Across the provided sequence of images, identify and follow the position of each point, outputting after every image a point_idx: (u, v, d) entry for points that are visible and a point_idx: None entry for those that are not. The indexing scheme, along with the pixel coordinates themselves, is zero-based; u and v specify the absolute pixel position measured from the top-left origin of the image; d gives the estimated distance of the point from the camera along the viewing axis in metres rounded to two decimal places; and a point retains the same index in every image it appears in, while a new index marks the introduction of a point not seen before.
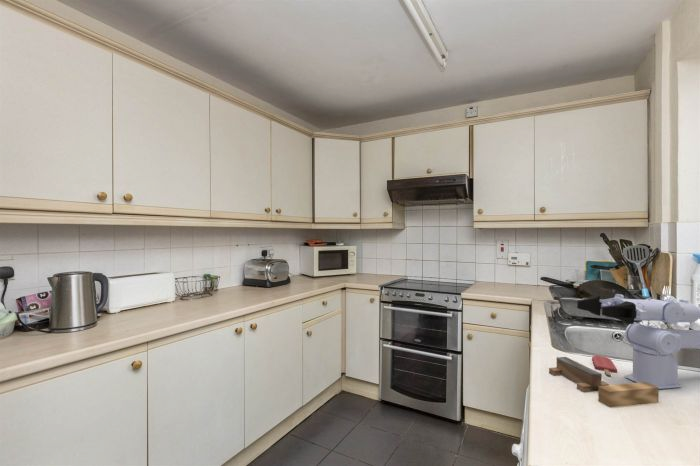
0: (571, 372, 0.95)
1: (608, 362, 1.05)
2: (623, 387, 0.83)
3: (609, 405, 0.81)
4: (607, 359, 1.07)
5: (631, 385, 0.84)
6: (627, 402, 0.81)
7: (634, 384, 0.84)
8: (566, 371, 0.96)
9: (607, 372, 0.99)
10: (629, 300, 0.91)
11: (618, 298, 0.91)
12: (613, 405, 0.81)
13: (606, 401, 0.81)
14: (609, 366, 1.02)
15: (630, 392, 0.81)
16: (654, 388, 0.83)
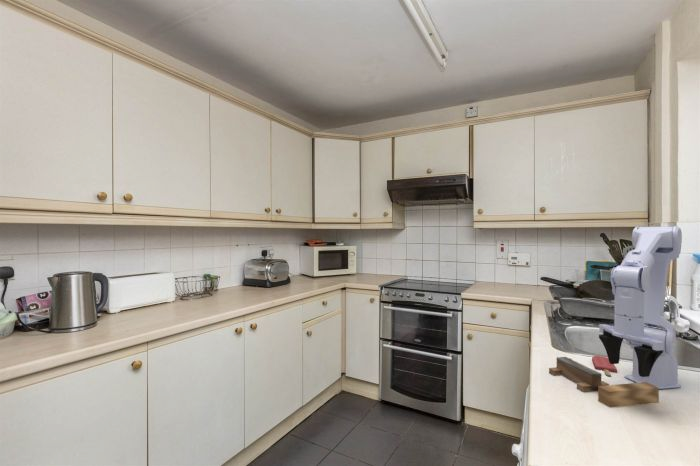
0: (571, 372, 0.95)
1: (608, 362, 1.05)
2: (622, 387, 0.83)
3: (609, 405, 0.81)
4: (607, 359, 1.07)
5: (631, 385, 0.84)
6: (627, 402, 0.81)
7: (634, 384, 0.84)
8: (566, 371, 0.96)
9: (607, 372, 0.99)
10: (623, 326, 0.81)
11: None
12: (613, 405, 0.81)
13: (606, 401, 0.81)
14: (609, 366, 1.02)
15: (630, 393, 0.81)
16: (654, 388, 0.83)
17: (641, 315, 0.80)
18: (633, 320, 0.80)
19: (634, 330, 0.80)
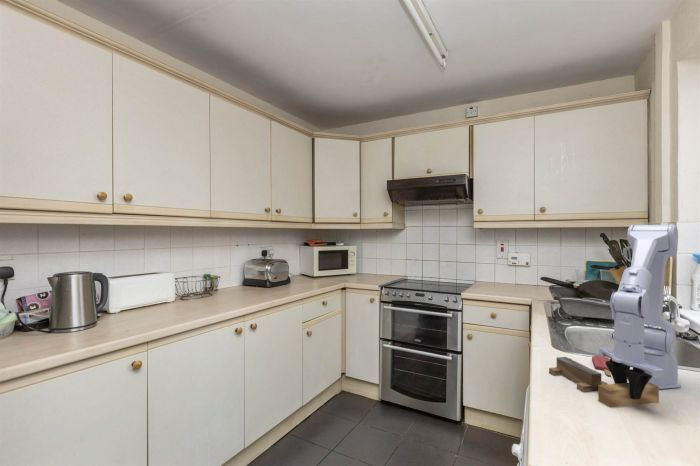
0: (571, 372, 0.95)
1: None
2: (623, 386, 0.83)
3: (609, 404, 0.81)
4: (607, 359, 1.07)
5: None
6: (627, 401, 0.81)
7: None
8: (566, 371, 0.96)
9: (607, 372, 0.99)
10: (623, 352, 0.82)
11: None
12: (613, 404, 0.81)
13: (606, 400, 0.81)
14: None
15: None
16: (654, 387, 0.83)
17: (641, 341, 0.80)
18: (633, 346, 0.80)
19: (634, 356, 0.80)
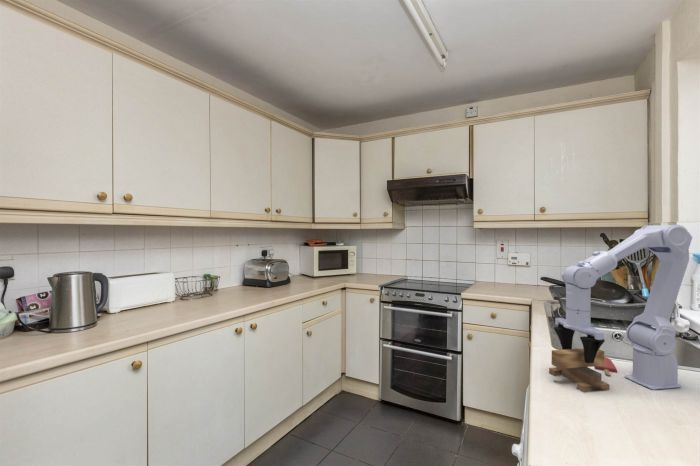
0: (571, 372, 0.95)
1: (608, 362, 1.05)
2: (572, 351, 0.94)
3: (559, 366, 0.92)
4: (607, 359, 1.07)
5: (580, 349, 0.95)
6: (575, 363, 0.93)
7: (583, 349, 0.96)
8: (566, 371, 0.96)
9: (607, 372, 0.99)
10: (572, 319, 0.93)
11: (569, 327, 0.94)
12: (563, 366, 0.92)
13: (557, 363, 0.92)
14: (609, 366, 1.02)
15: (578, 355, 0.93)
16: (600, 352, 0.94)
17: (580, 309, 0.92)
18: (580, 313, 0.92)
19: (581, 322, 0.92)
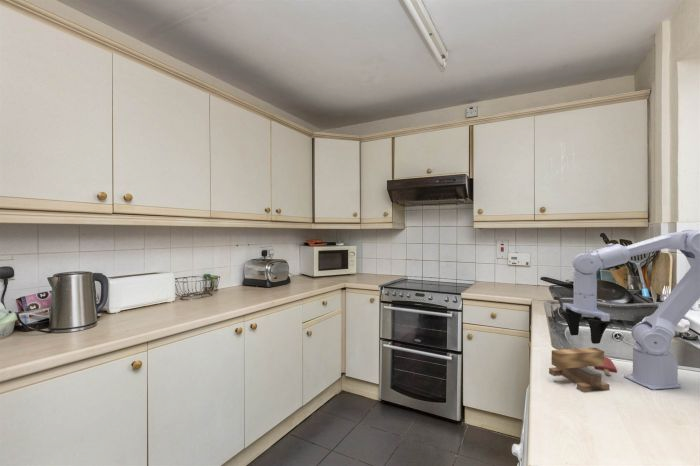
0: (571, 372, 0.95)
1: (608, 361, 1.05)
2: (572, 351, 0.94)
3: (559, 366, 0.92)
4: (607, 359, 1.07)
5: (580, 349, 0.95)
6: (575, 363, 0.93)
7: (583, 349, 0.96)
8: (566, 371, 0.96)
9: (607, 372, 0.99)
10: (580, 303, 0.99)
11: None
12: (563, 366, 0.92)
13: (557, 363, 0.92)
14: (609, 366, 1.02)
15: (578, 355, 0.93)
16: (600, 352, 0.94)
17: (582, 293, 0.98)
18: (587, 297, 0.98)
19: (588, 305, 0.98)
